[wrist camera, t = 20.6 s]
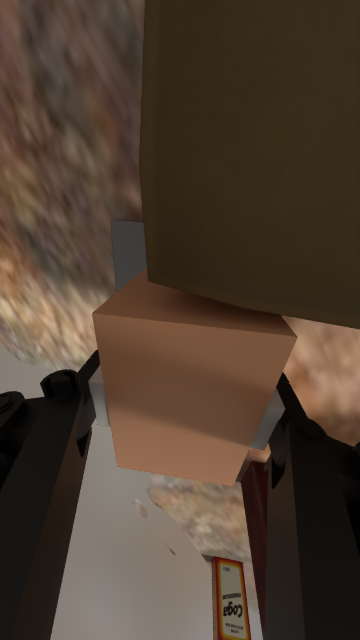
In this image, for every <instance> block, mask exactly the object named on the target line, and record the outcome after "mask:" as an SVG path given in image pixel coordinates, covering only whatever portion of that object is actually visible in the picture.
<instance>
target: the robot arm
mask: <svg viewBox="0 0 360 640" xmlns="http://www.w3.org/2000/svg"><path fill="white" fill-rule="evenodd" d="M40 385H41V388H42V390H43V393H44V395H45V397H39V398H31V399H25V398H24V396H23V395H22V393H20V392H17V391H11V392H5V393H2V394H0V640H50V637H51V633H52V627H53V623H54V618H55V613H56V608H57V603H58V598H59V593H60V588H61V583H62V578H63V573H64V568H65V563H66V558H67V553H68V549H69V543H70V538H71V534H72V529H73V524H74V519H75V514H76V509H77V504H78V498H79V494H80V489H81V484H82V479H83V474H84V470H85V464H86V460H87V455H88V450H89V445H90V439H91V435H92V428H91V425H92V423H93V422H94V420H95V418H96V420H97V424H98V425H103V426H109V427H111V425H110V419H109V413H108V407H107V401H106V395H105V389H104V383H103V376H102V370H101V364H100V358H99V352H98V349H97V350H96V351H95V352H94V353H93V354H92V356H91V357H90V358H89V359H88V360H87V362H86V364H84V365H83V367H82V368H81V369H80V370H79V371H78V373H77V372H76V371H73V370H67V369H65V370H59V371H56V372H54V373H51V374H50V375H48V376H47V377H45V378H44V379H43V380H42V381H41V383H40ZM268 443H269V447H270V450H271V454H270V456H269V458H268V460H267V462H266V463H265V465H264V469H263V470H264V471H267V469H268V503H267V553H266V602H265V640H360V442H359V443H357V444H356V445H355V446H354V447H352V446H350V445H348V444H345V443H343V442H340V441H338V440H335V439H333V438H331V437H329V436H327V434H326V432H325V431H324V430H323V429H322V428H321V426H319V425H318V424H317V423H316V422H314V421H313V420H311V419H309V418H308V417H307V415H306V413H305V412H304V410H303V408H302V406H301V404H300V402H299V400H298V398H297V396H296V394H295V393H294V391H293V389H292V387H291V385H290V384H289V381H288V379H287V377H286V375H285V374H284V373H283V372H282V374H281V376H280V379H279V381H278V383H277V386H276V388H275V390H274V393H273V395H272V397H271V400H270V402H269V404H268V407H267V409H266V411H265V413H264V416H263V418H262V420H261V423H260V425H259V427H258V430H257V432H256V434H255V437H254V439H253V441H252V444H251V446H250V448H254V449H260V450H265V448H266V446H267V444H268Z"/></svg>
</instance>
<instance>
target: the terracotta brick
mask: <svg viewBox="0 0 360 640" xmlns="http://www.w3.org/2000/svg"><path fill="white" fill-rule="evenodd" d="M92 316H93V322H94V328H95V334H96V340H97V346H98V352H99V358H100V364H101V370H102V376H103V383H104V389H105V395H106V401H107V407H108V413H109V419H110V425H111V431H112V437H113V443H114V448H115V455H116V461H117V467H120V468H126V469H133V470H138V471H145V472H150V473H156V474H162V475H168V476H174V477H180V478H186V479H192V480H198V481H204V482H210V483H216V484H222V485H228V486H233V485H234V483H235V481H236V478H237V476H238V474H239V471H240V469H241V467H242V464H243V462H244V460H245V457H246V455H247V453H248V451H249V448H250V446H251V444H252V441H253V439H254V437H255V434H256V432H257V430H258V427H259V425H260V423H261V420H262V418H263V416H264V413H265V411H266V409H267V407H268V404H269V402H270V400H271V397H272V395H273V393H274V390H275V388H276V386H277V383H278V381H279V379H280V376H281V374H282V372H283V369H284V367H285V365H286V363H287V360H288V358H289V356H290V353H291V351H292V349H293V346H294V344H295V342H296V339H297V336H296V334H295V333H294V332H293V331H292V329H291V328H290V327H289V326H288V324H287V323H286V322H285V321H284V319H283V318H282V317H281V316H280V315H279V314H273V313H268V312H262V311H257V310H251V309H246V308H242V307H238V306H235V305H231V304H227V303H224V302H220V301H217V300H213V299H209V298H206V297H202V296H198V295H195V294H191V293H188V292H184V291H180V290H177V289H173V288H169V287H166V286H162V285H159V284H155V283H151V282H148V275H147V267H146V268H145V269H144V270H143V271H142V272H140V273H139V274H138V275H137V276H136V277H134V278H133V279H132V280H131V281H130V282H129V283H127V284H126V285H125V286H124V287H123V288H121V289H120V290H119V291H118V292H117V293H115V294H114V295H113V296H112V297H111V298H110V299H108V300H107V301H106V302H105V303H104V304H102V305H101V306H100V307H99V308H98V309H96V310H95V311H94V312H93V313H92Z"/></svg>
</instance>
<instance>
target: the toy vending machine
mask: <svg viewBox="0 0 360 640" xmlns="http://www.w3.org/2000/svg"><path fill="white" fill-rule="evenodd" d="M264 465H265V463H259V462H253V461H252V462H251V463H250V465H249V467H248V469H247V471H246V473H245V475H244V477H243V479H242V481H241V486H242V493H243V500H244V508H245V515H246V522H247V529H248V536H249V543H250V550H251V557H252V564H253V571H254V578H255V586H256V593H257V600H258V607H259V614H260V621H261V628H262V635H263V640H265V602H266V553H267V503H268V469H267V471H264V470H263V469H264Z"/></svg>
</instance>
